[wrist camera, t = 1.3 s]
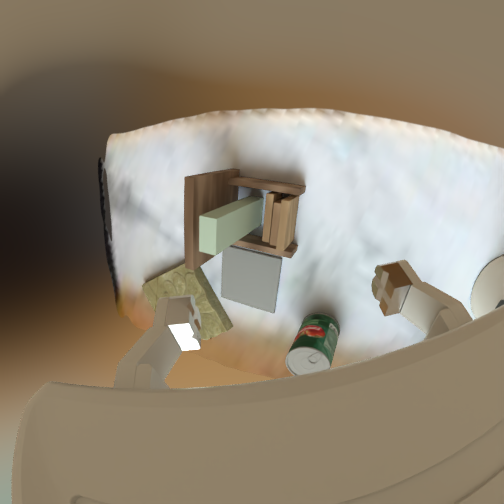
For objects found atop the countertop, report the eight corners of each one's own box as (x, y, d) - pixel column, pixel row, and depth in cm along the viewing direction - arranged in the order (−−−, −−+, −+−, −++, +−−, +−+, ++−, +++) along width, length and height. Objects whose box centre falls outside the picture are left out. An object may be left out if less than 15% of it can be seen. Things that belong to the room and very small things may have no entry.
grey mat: (282, 258, 50) (281, 259, 49) (274, 311, 55) (273, 313, 54) (224, 244, 54) (222, 245, 54) (222, 295, 59) (221, 297, 58)
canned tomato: (323, 350, 53) (311, 387, 44) (294, 329, 54) (276, 364, 45) (348, 327, 49) (339, 365, 40) (316, 305, 50) (302, 339, 41)
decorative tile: (146, 281, 69) (138, 286, 66) (196, 256, 59) (186, 262, 56) (182, 339, 71) (174, 346, 68) (236, 327, 61) (229, 336, 58)
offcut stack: (299, 193, 45) (289, 199, 39) (293, 239, 48) (283, 251, 43) (275, 189, 46) (263, 194, 41) (271, 235, 49) (258, 245, 44)
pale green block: (263, 197, 47) (216, 219, 34) (261, 224, 49) (215, 255, 36) (250, 195, 48) (199, 215, 35) (248, 222, 50) (199, 251, 37)
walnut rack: (306, 178, 43) (280, 189, 31) (295, 256, 49) (268, 293, 37) (231, 168, 48) (184, 176, 36) (227, 240, 53) (185, 267, 41)
